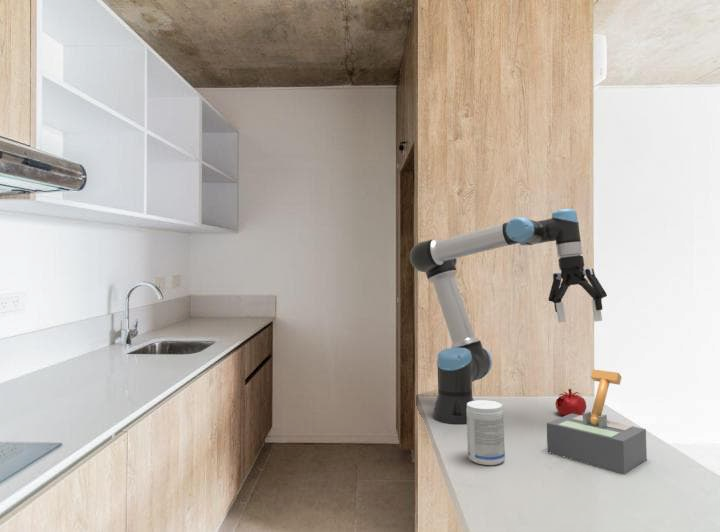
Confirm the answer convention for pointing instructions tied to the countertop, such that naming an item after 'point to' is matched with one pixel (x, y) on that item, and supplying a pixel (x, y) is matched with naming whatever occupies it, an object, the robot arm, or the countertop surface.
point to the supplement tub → (485, 432)
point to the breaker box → (597, 442)
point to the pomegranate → (570, 404)
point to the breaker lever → (602, 391)
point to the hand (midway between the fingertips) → (579, 321)
